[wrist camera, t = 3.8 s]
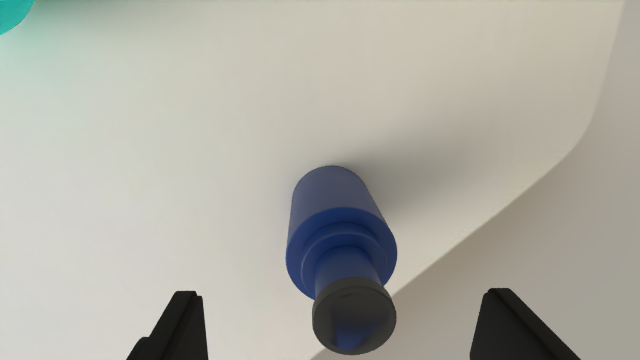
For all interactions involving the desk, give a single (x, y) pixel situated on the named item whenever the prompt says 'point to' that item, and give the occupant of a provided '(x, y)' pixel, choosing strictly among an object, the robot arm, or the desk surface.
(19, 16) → the pair of turquoise discs
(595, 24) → the desk surface
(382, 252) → the bottle
